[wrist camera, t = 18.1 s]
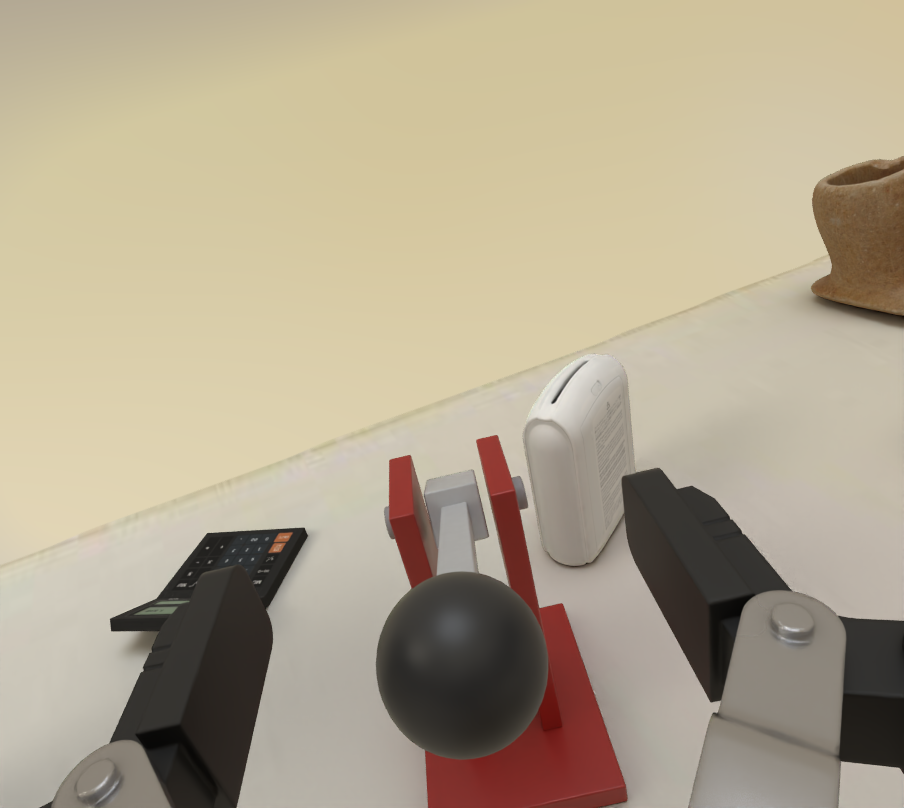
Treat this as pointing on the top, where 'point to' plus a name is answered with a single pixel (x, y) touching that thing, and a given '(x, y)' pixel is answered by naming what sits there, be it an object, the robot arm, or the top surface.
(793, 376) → the top surface
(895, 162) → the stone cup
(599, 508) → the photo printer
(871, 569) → the top surface
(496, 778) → the red stand
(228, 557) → the calculator
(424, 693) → the ball knob lever
